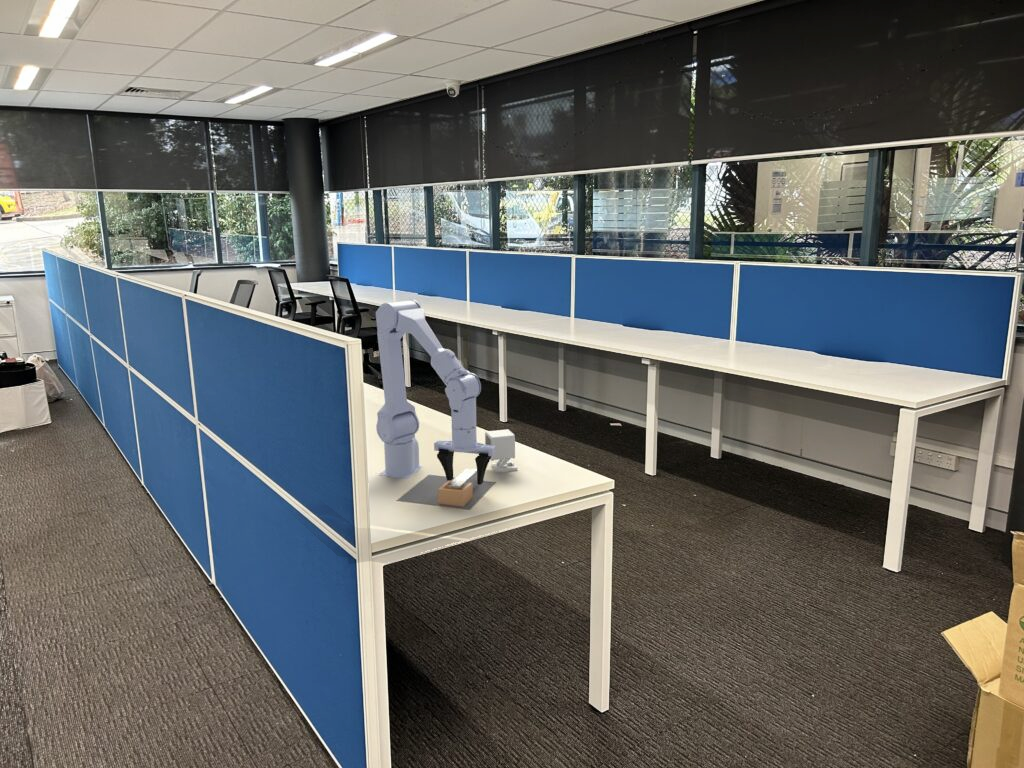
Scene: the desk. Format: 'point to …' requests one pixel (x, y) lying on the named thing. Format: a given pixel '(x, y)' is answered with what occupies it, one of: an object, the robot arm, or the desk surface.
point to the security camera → (502, 449)
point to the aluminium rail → (464, 479)
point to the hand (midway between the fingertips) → (465, 481)
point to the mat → (429, 493)
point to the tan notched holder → (455, 495)
